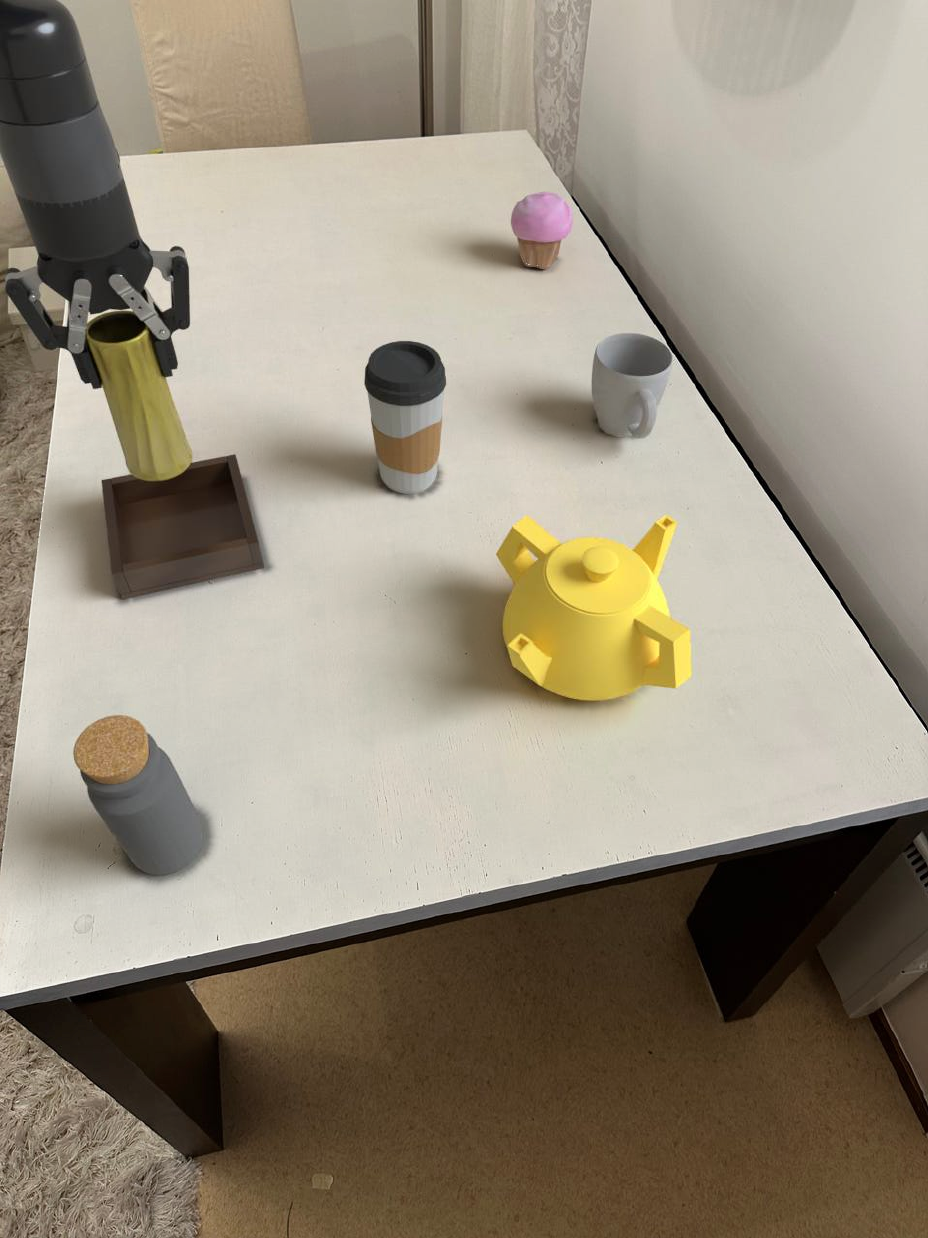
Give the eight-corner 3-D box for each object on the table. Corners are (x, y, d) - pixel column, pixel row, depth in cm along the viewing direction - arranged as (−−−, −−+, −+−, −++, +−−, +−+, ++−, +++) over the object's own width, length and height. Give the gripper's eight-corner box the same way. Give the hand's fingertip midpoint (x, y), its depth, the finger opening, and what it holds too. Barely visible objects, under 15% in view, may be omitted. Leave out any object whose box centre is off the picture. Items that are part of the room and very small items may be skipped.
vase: (120, 451, 81) (71, 317, 70) (183, 434, 83) (144, 300, 72) (136, 490, 78) (86, 354, 67) (201, 471, 80) (163, 336, 69)
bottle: (131, 885, 65) (63, 794, 53) (127, 817, 68) (63, 718, 57) (208, 865, 66) (158, 771, 54) (201, 800, 70) (153, 698, 58)
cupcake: (571, 253, 128) (580, 186, 120) (561, 282, 123) (570, 213, 115) (514, 245, 129) (519, 178, 122) (502, 273, 124) (506, 204, 116)
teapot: (681, 720, 75) (715, 638, 66) (496, 717, 75) (504, 634, 66) (655, 581, 86) (681, 493, 77) (492, 578, 86) (499, 489, 77)
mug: (574, 405, 104) (585, 335, 97) (642, 397, 106) (657, 328, 98) (604, 468, 97) (618, 398, 90) (676, 459, 98) (696, 390, 91)
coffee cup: (415, 443, 99) (412, 328, 87) (460, 480, 95) (463, 365, 83) (357, 472, 96) (346, 356, 84) (401, 512, 92) (396, 397, 80)
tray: (122, 600, 83) (111, 574, 80) (112, 506, 91) (101, 479, 88) (264, 568, 86) (258, 541, 83) (241, 480, 94) (235, 453, 91)
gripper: (-44, 211, 56) (47, 418, 69) (175, 185, 60) (223, 387, 73) (-40, 164, 61) (44, 367, 74) (164, 142, 64) (210, 340, 77)
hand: (133, 376), depth 73 cm, fingers closed on vase, 5 cm apart
